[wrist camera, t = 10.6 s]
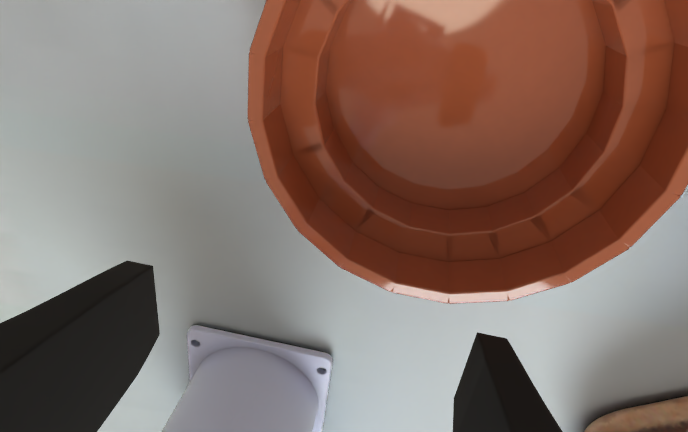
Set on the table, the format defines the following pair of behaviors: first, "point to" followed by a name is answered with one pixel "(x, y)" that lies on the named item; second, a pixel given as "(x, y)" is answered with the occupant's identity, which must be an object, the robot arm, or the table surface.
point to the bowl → (471, 135)
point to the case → (646, 418)
